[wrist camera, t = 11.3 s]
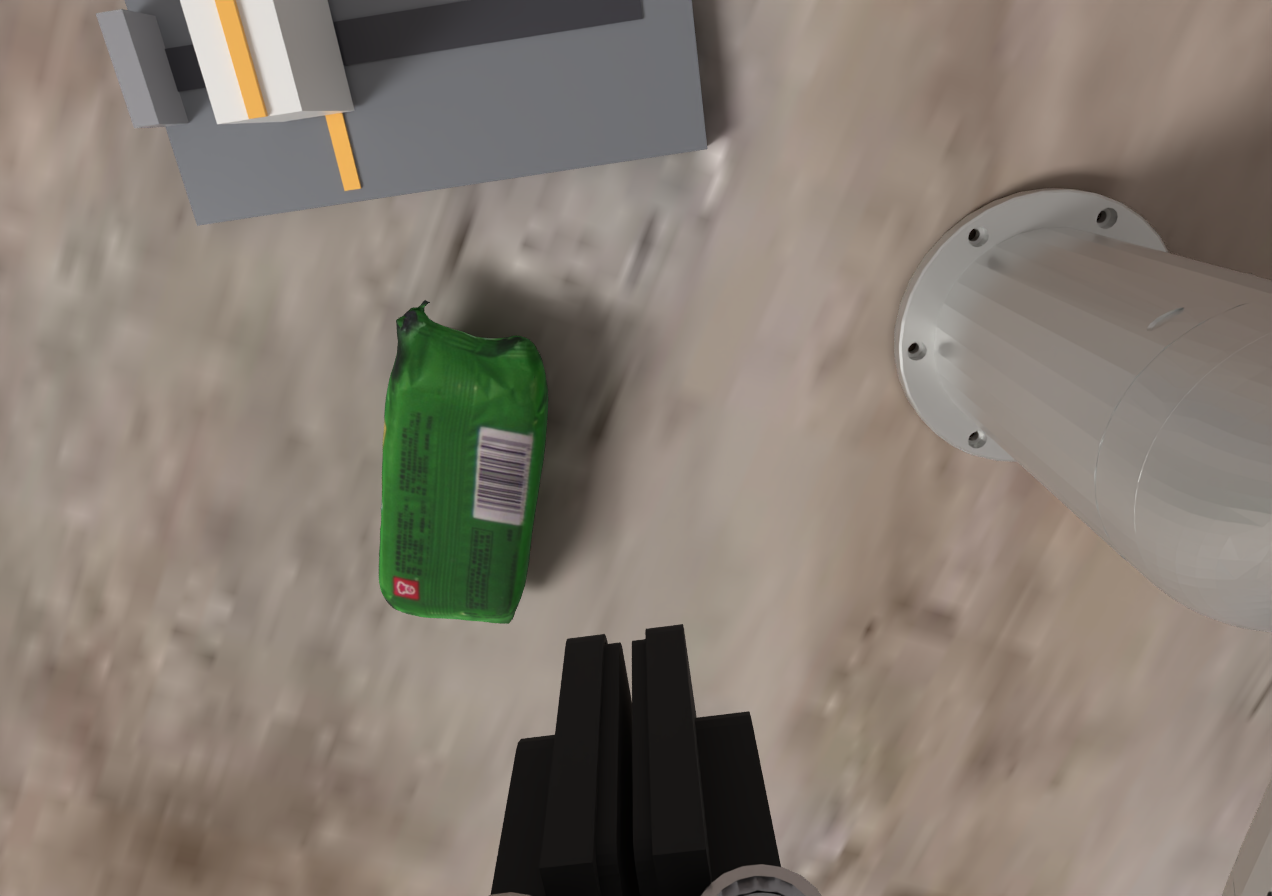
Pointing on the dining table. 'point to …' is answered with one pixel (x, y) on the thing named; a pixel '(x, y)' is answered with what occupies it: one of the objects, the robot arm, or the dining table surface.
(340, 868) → the dining table surface
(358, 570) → the dining table surface
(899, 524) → the dining table surface
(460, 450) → the snack package
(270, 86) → the fader tab
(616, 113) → the console
